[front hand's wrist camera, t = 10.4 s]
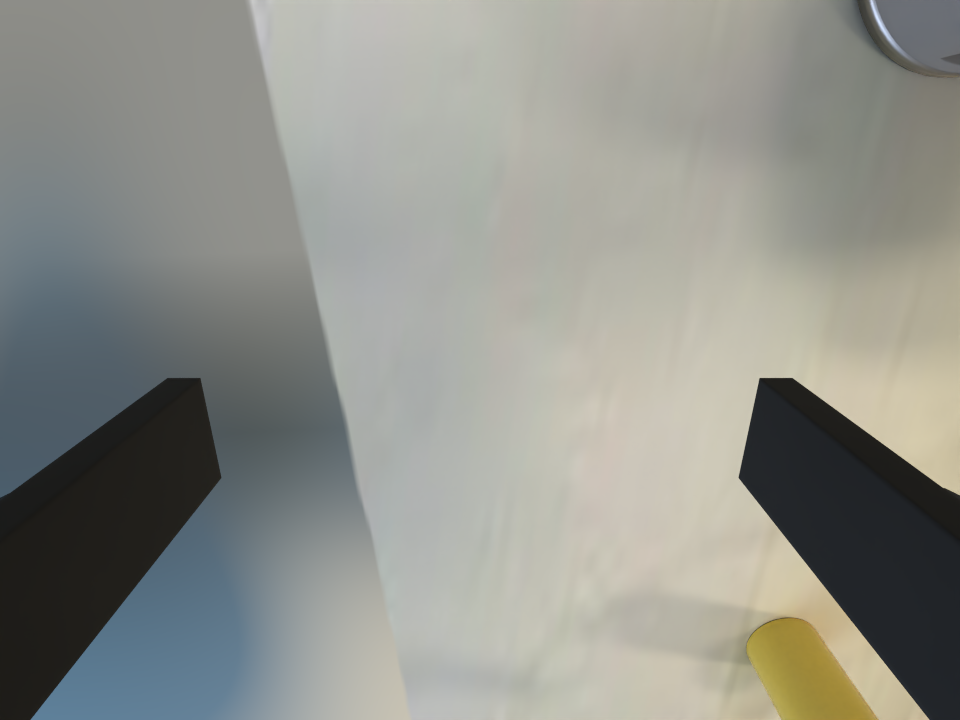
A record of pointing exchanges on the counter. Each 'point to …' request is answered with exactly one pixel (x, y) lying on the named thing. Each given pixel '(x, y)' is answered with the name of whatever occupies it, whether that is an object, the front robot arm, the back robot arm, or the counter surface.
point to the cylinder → (803, 674)
